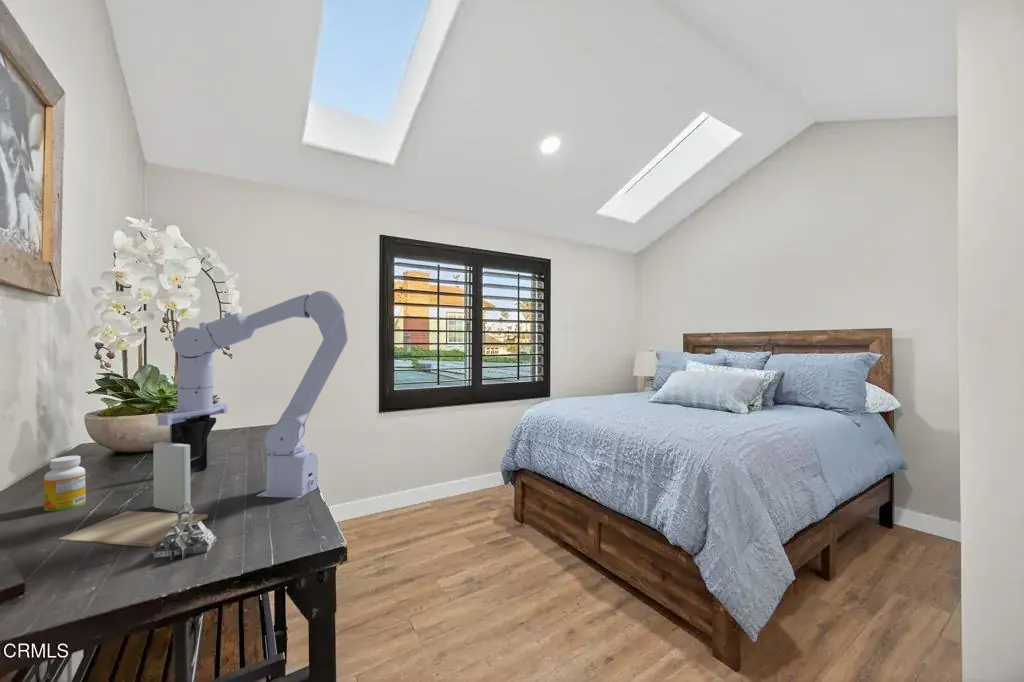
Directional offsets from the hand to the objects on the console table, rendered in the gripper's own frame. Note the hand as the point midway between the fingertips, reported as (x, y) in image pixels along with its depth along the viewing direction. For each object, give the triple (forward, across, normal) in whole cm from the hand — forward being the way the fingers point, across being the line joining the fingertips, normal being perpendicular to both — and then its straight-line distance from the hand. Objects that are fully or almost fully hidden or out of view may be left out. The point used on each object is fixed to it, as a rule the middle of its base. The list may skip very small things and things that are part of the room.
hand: (195, 454), depth 85 cm
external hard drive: (+9, +5, 0) cm, 11 cm away
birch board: (+9, +14, +2) cm, 17 cm away
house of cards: (+10, +22, +16) cm, 29 cm away
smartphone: (+9, -15, -15) cm, 23 cm away
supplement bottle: (+9, +7, -20) cm, 23 cm away
